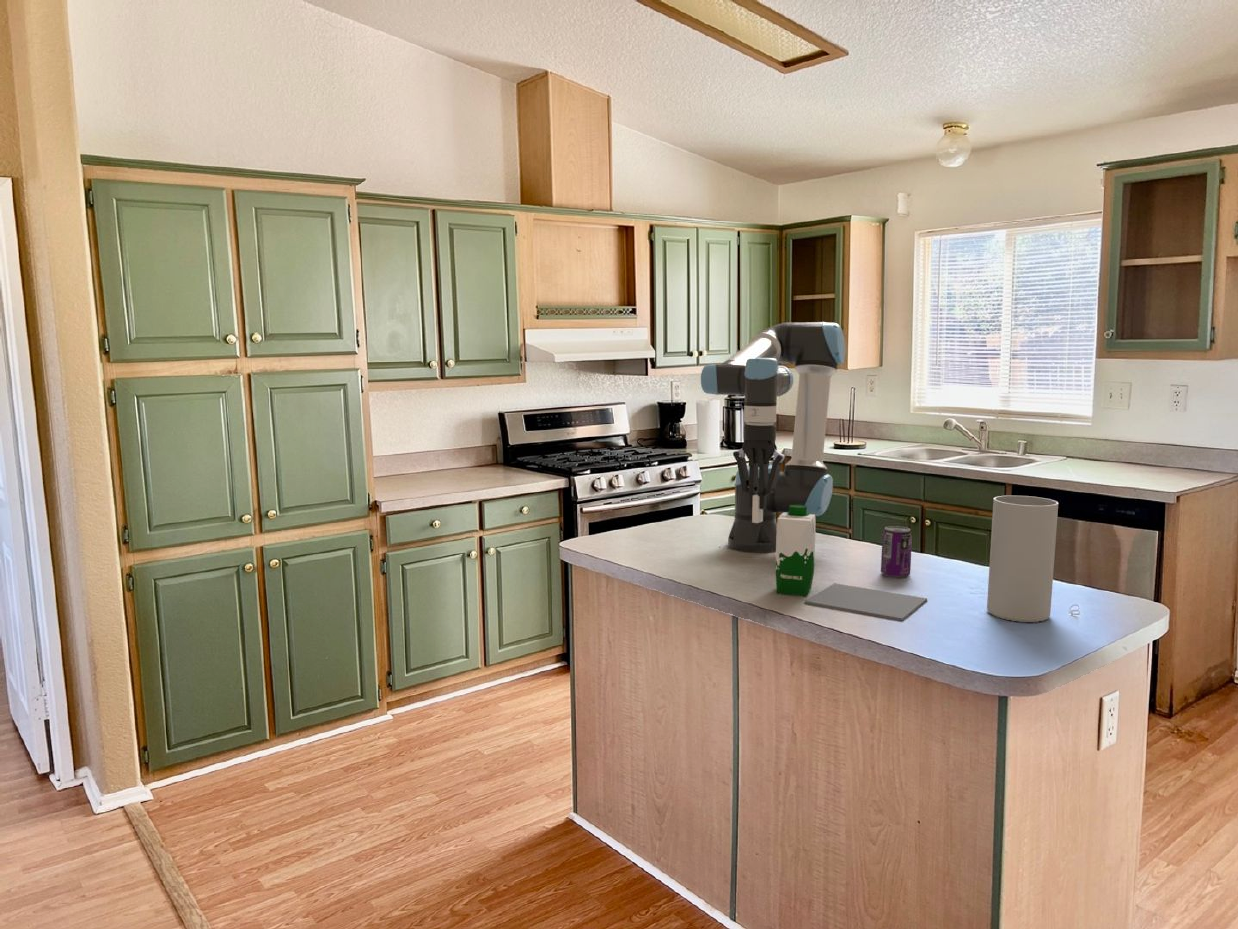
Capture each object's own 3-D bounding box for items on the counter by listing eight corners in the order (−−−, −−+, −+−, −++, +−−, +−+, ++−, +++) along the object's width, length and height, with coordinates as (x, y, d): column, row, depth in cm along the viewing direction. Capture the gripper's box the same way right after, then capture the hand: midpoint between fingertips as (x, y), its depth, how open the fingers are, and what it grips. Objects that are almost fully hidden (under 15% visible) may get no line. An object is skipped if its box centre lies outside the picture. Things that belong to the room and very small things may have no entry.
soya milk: (815, 588, 213) (818, 505, 210) (810, 598, 205) (813, 512, 202) (778, 584, 216) (781, 503, 213) (771, 594, 208) (774, 509, 205)
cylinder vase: (976, 606, 198) (983, 495, 195) (1030, 605, 199) (1038, 495, 196) (1004, 624, 186) (1012, 506, 183) (1062, 623, 187) (1070, 505, 184)
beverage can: (911, 579, 220) (914, 532, 219) (881, 578, 222) (884, 531, 220) (908, 572, 227) (910, 526, 226) (879, 571, 229) (881, 525, 227)
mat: (804, 603, 200) (804, 600, 200) (834, 585, 215) (834, 583, 215) (902, 621, 188) (902, 618, 188) (927, 601, 203) (927, 598, 203)
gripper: (727, 423, 211) (725, 521, 214) (778, 426, 204) (775, 527, 207) (742, 421, 217) (740, 516, 220) (792, 424, 210) (789, 522, 213)
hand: (757, 521), depth 214 cm, fingers closed
